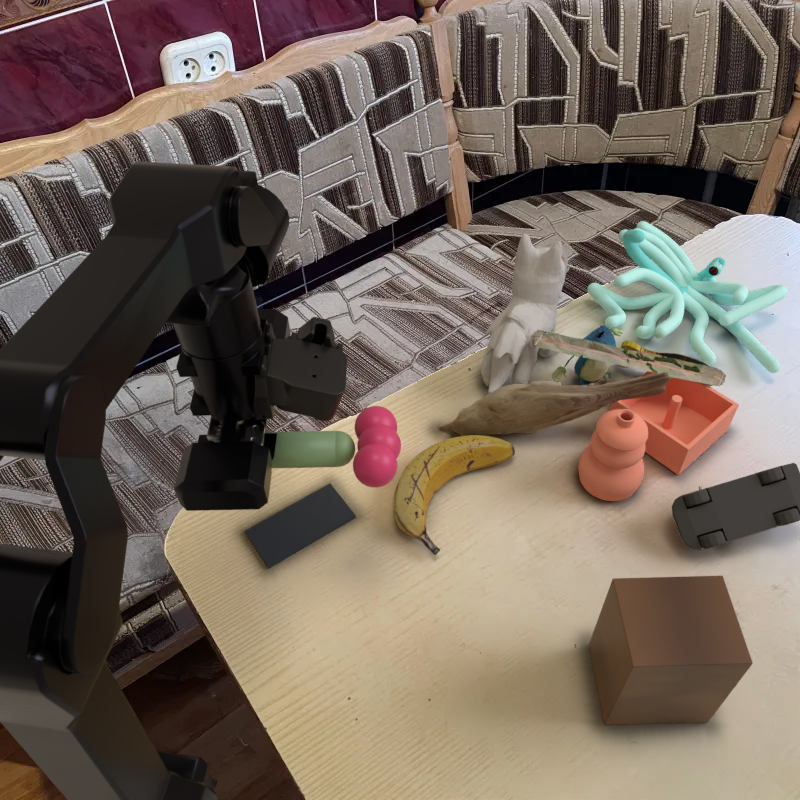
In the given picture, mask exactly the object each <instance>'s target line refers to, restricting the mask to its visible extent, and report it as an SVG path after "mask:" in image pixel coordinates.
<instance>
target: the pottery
mask: <svg viewBox="0 0 800 800" xmlns="http://www.w3.org/2000/svg"><path fill="white" fill-rule="evenodd" d="M652 374H658V373H654V372H649V371H644V373H642V374H641V375H640V376H639V377H644V376H648V375H652ZM665 388H666V391H665V392H664V393H662V394H660V395H655V396H649V397H642V398H634V399H626V400H619V401H617V402H614V403H612V404H610V405H609V410H608V411H605V412H604V413H603V414H601V416H600V417H599V419H598V420H597V423H596V426H595V427H596V428H595V430H594V431H593V433H592V435H591V439H590V443H589V444H588V445H586V447H584V449H583V450H582V452H581V454H580V456H579V458H578V465H577V467H578V476H579V481H580V483H581V486H582V487H583V488H584V490H585V491H586V492H588V493H589V495H592V496H593V497H595V498H597V499H599V500H603V501H606V502H620V501H623V500H626V499H628V498H630V497H631V496H632V495H633V494H634V493H635V492H636V491H637V489H638V488H639V487H640V485H641V484H642V483H643V479H644V477H645V464H644V460H643V457H644V455H645V454H647V455H648V456H650V457H651V458H653V459H654V460H656V461H657V462H659V463H660V464H662V465H663V466H665V467H666V468H667V469H668V470H670V471H672V472H673V473H674V474H676V475H677V476H679V475H680V474H681V473H682V472H684V470H686V469H687V468H688V467H689V466H690V465H691V464H692V463H693V462H694V461H695V460H697V459H698V458H699V457H700V456H701V455H702V454H704V452H706V450H708V449H709V448H710V447H711V446H712V445H713V444H714V443H716V441H718V440H719V439H720V438H721V437H722V436H723V435H724V434H725V433H726V432H728V430H729V428H730V425H731V423H732V421H733V419H734V417H735V414H736V412H737V410H738V408H739V406H740V404H739V403H737V402H736V401H734V400H733V399H731V398H729V397H728V396H726V395H724V394H723V393H721V392H719V391H718V390H716V389H715V388H713V387H712V386H708V385H706V384H705V383H700V382H694V381H689V380H684V379H679V378H673V377H671V380H670V381H669V382H668V383H667V384H666V385H665Z"/></svg>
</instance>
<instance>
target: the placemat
mask: <svg viewBox="0 0 800 800" xmlns="http://www.w3.org/2000/svg"><path fill="white" fill-rule="evenodd" d="M354 519H357V515H356V514H355V512H354V511H353V509H352V508H351V507H350V506H349V505H348V504H347V502H346V501H345V499H344V498H343V497H342V496H341V495H340V494H339V492H338V491H337V489H336V488H335V487H334V486H333V485H332V483H331V482H330V483H328V484H326V485H324V486H322V487H321V488H319V489H317V490H315V491H313V492H312V493H310V494H308V495H306V496H305V497H302V498H301V499H299V500H297V501H295V502H294V503H292V504H290V505H288V506H286V507H285V508H283V509H281V510H279V511H277V512H275V513H274V514H272V515H271V516H268V517H266V518H265V519H263V520H262V521H259V522H258V523H256V524H254V525H252V526H250V527H249V528H247V529H245V530H244V534H245V536H246V537H247V538H248V541H250V543H251V544H252V546H253V548H254V549H255V550H256V552H257V554H258V555H259V556H260V558H261V560H262V561H263V563H264V564H265V565H266V567H267V568H268V569H271V568H272V567H274V566H276V565H278V564H279V563H281V562H282V561H285V560H287V559H288V558H289V557H292V556H293V555H295V554H297V553H298V552H300V551H302V550H303V549H305V548H307V547H308V546H311V545H312V544H314V543H315V542H317V541H319V540H320V539H323V538H324V537H325V536H327V535H329V534H331V533H333V532H335V530H338V529H339V528H341V527H342V526H345V525H346V524H348V523H350V522H351V521H353V520H354Z"/></svg>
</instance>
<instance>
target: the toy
mask: <svg viewBox="0 0 800 800" xmlns="http://www.w3.org/2000/svg"><path fill="white" fill-rule="evenodd" d="M568 264H569V259H568V255H567V251H566V250H565V248H564V247H563V244H562V242H561V241H559V240H558V241H555V242H553V243H552V242H551V243H549V244H547V245H545V246H540V247H535V246H534V245H533V243H532V240H531V236H530V235H529V234H527V233H523V234H522V235H521V237H520V239H519V243H518V246H517V250H516V253H515V260H514V267H513V277H512V281H511V290H512V291H511V293H512V295H511V299H510V301H509V303H508V305H507V306H506V307H505V309H503V311H502V312H500V313H499V314H498V315H497V316H496V317H495V318H494V319H493V320H492V322H491V324H490V325H489V326H488V327H487V330H486V332H485V336H486V335H488V336H489V335H490V338H489V340H488V343H487V347H486V350H485V353H484V356H483V359H482V362H481V366H480V372H481V376H482V382H483V383H484V385H485V386H486V387H488V390H487V391H488V392H487V393H488V394H490V393H492V392H493V391H495V390H496V389H498V388H500V387H502V386H504V385H505V384H506V382H507V380H508V379H509V377H510V376H511V381H512V382H511V383H512V384H528V383H530V382H531V381H530V378H531V375H532V373H533V371H534V368H535V366H536V364H537V362H538V361H537V360H538V354H539V355H540V357H543V358H548V357H551V356H553V355H555V353H557V352H555V351H551V350H549V349H543V348H539V347H538V346H537V345H534V342H535V340H534V339H533V337H534V333H536V332H537V330H541V331H546V332H550V333H555V334H556V328H557V317H558V306H559V302H560V297H561V295H562V290H563V287H564V285H565V282H566V275H567V273H568V272H569V271H570V266H571V265H568ZM511 373H512V374H511ZM488 394H487V395H488Z"/></svg>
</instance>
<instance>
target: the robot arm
mask: <svg viewBox="0 0 800 800" xmlns="http://www.w3.org/2000/svg"><path fill="white" fill-rule="evenodd" d="M107 206H108V210H109V215H110V218H111V222H112V225H111V227H110V228H109V230H108V231H107V233H106V235H105V236H104V238H103V239H102V240H101V241H100V242H99V243H98V244H97V245H96V246H95V248H93V249H92V250H91V252H90V253H89V254H88V255H87V256H86V257H85V258H83V260H82V261H81V262H80V264H78V265H77V267H76V268H75V269H73V271H72V272H71V273H70V274H69V275H68V276H67V277H66V279H65V280H64V281H63V282H61V284H60V285H59V286H58V287H56V289H55V290H54V291H53V292H52V293H51V294H50V295H49V297H47V299H46V300H45V301H44V302H43V303H42V304H41V305H40V307H38V308H37V309H36V311H35V312H34V313H33V314H32V315H31V316H30V317H29V319H27V320H26V322H24V324H22V325H21V327H20V328H18V330H17V331H16V332H15V333H13V335H12V336H11V338H9V340H8V341H6V343H5V344H4V345H3V346H2V347H1V348H0V462H1V461H2V460H3V459H4V457H10V458H11V457H12V458H20V459H28V460H29V459H30V460H40V461H44V463H45V466H46V469H47V472H48V474H49V477H50V480H51V482H52V485H53V488H54V491H55V494H56V496H57V498H58V501H59V503H60V506H61V509H62V511H63V514H64V516H65V517H64V518H65V519H66V522H67V525H68V528H69V530H70V533H71V535H72V538H73V544H72V545H73V547H72V552H71V551H64V550H56V549H55V550H54V549H48V548H38V547H29V546H21V545H13V544H5V543H0V723H1V725H2V726H3V727H4V728H5V730H7V732H9V734H10V735H11V736H12V737H13V738H14V740H15V741H16V742H17V743H18V744H19V745H20V747H21V748H22V749H23V750H24V751H25V752H26V753H27V755H28V756H29V757H30V758H31V760H33V762H34V763H35V764H36V765H37V766H38V767H39V768H40V770H41V771H42V773H44V774H45V776H46V777H47V778H48V779H49V780H50V782H51V783H52V784H54V786H55V787H56V788H57V789H58V791H59V792H60V793H61V794H62V795H63V796H64V798H65V799H66V800H219V796H218V794H217V793H216V790H215V788H216V787H217V785H218V779H217V778H213V777H212V775H211V771H210V765H209V764H208V763H207V762H206V761H205V760H204V758H203V757H202V756H201V757H200V756H195V755H188V754H181V753H176V752H169V751H162V750H157V749H156V747H155V746H154V744H153V742H152V741H151V738H150V737H149V735H148V733H147V731H146V729H145V728H144V726H143V725H142V723H141V721H140V720H139V718H138V716H137V714H136V712H135V710H134V709H133V707H132V705H131V704H130V702H129V700H128V698H127V697H126V695H125V693H124V692H123V690H122V688H121V686H120V684H119V683H118V681H117V679H116V677H115V676H114V674H113V672H112V671H111V669H110V667H109V666H108V664H107V659H108V657H109V654H110V652H111V650H112V648H113V646H114V643H115V641H116V639H117V637H118V635H119V632H120V631H121V628H122V626H123V623H124V622H123V618H122V614H121V611H120V603H121V594H122V587H123V579H124V571H125V563H126V555H127V548H128V539H129V531H128V524H127V522H126V520H125V517H124V514H123V512H122V510H121V506H120V504H119V502H118V499H117V497H116V494H115V491H114V489H113V487H112V484H111V481H110V478H109V476H108V474H107V471H106V469H105V466H104V463H103V461H102V450H103V444H104V435H105V427H106V420H107V410H108V408H109V407H110V405H111V403H112V402H113V401H114V399H115V397H116V396H117V395H118V393H119V392H120V390H121V389H122V387H123V385H124V384H125V383H126V382H127V380H128V378H129V377H130V375H131V374H132V372H134V370H135V368H136V366H137V365H138V364H139V363H140V361H141V359H142V358H143V356H144V355H145V354H146V352H147V351H148V349H149V347H150V346H151V344H152V343H153V342H154V340H155V339H156V337H157V336H158V334H159V333H160V331H161V330H162V328H163V327H164V326H165V324H173V327H174V331H175V333H176V337H177V339H178V342H179V346H180V351H179V355H178V359H177V363H176V365H175V368H176V371H177V373H178V376H179V378H190V379H191V382H192V385H193V392H192V397H191V401H190V404H189V408H190V411H191V414H192V416H193V417H195V416H196V417H201V416H203V417H205V416H208V417H209V416H210V419H209V423H208V428H207V433H206V434H199V435H198V438H197V439H198V440H197V442H191V444H190V445H189V446H187V447H186V448H185V449H183V450H182V455H181V457H180V462H179V466H178V470H177V475H176V479H175V482H174V483H175V484H174V488H173V490H174V492H175V495H176V497H177V499H178V503H179V505H180V506H181V507H182V508H183V509H184V510H185V511H187V512H189V511H190V512H192V511H193V512H195V511H196V512H198V511H199V512H200V511H243V510H246V511H248V510H249V511H250V510H251V511H252V510H260V509H262V508H263V507H264V506H266V505H267V504H268V503H269V497H270V490H271V483H272V476H273V475H272V473H273V468H272V461H273V459H274V455H275V447H276V440H277V433H265V432H267V428H268V420H274V418H275V407H276V408H277V409H278V410H281V411H283V412H287V413H292V414H297V415H302V416H306V417H311V418H314V419H315V420H316V421H322V422H328V421H331V420H333V419H334V417H335V415H336V413H337V410H338V408H339V405H340V403H341V401H342V398H343V396H344V393H345V391H346V388H347V370H348V357H347V355H346V353H345V352H344V344H343V343H340V342H338V343H337V344H336V341H335V340H336V335H335V332H334V328H333V324H332V321H331V320H330V319H326V318H323V317H322V318H321V317H317V316H313V317H311V318H310V319H309V320H308V321H305V323H304V324H302V325H301V326H300V327H299V328H298V330H297V332H294V331H292V332H291V327H290V321H289V316H287V315H285V314H284V313H282V312H281V311H280V310H278V309H276V308H265V309H264V308H261V309H260V308H258V305H257V301H256V296H255V292H254V288H255V287H258V286H260V285H264V284H266V282H267V280H268V278H269V275H270V273H271V271H272V269H273V266H274V263H275V261H276V259H277V256H278V254H279V251H280V249H281V246H282V244H283V242H284V239H285V237H286V234H287V232H288V230H289V226H290V214H289V210H288V209H287V208H286V207H285V204H284V203H283V202H282V200H280V198H279V197H278V196H277V195H276V194H275V193H274V192H272V191H271V190H270V189H268V188H266V187H264V186H262V185H260V184H259V182H258V176H257V172H256V171H254V170H239V169H238V168H237V167H236V166H228V165H227V166H226V165H210V164H192V163H175V162H174V163H173V162H156V161H142V160H141V161H137V162H134V163H133V164H132V165H130V167H129V169H127V171H126V172H125V174H124V176H123V177H122V178H121V180H120V182H119V183H118V184H117V186H116V188H115V189H114V190H113V192H112V194H111V195H110V197H109V198H108V200H107Z"/></svg>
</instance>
